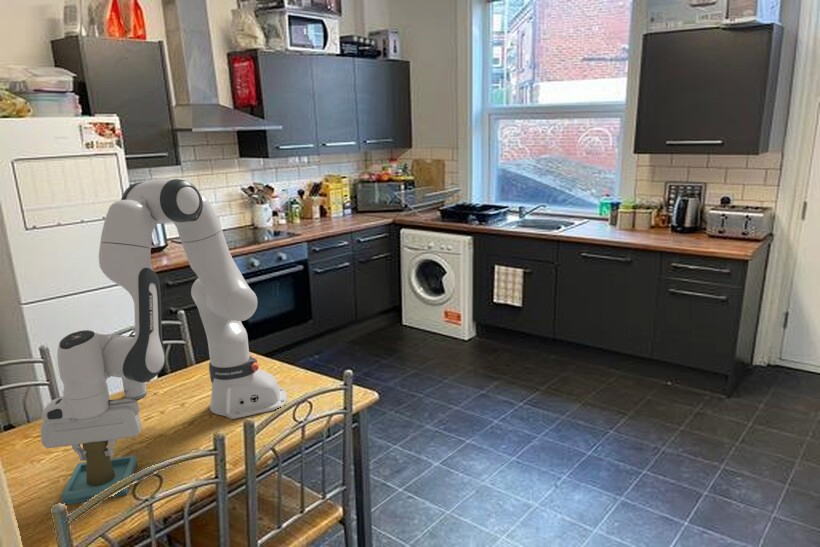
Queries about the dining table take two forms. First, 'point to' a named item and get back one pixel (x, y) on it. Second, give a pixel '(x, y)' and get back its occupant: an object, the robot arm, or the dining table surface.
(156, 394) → the dining table surface
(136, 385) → the travel mug
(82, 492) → the tray
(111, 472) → the brown tapered cylinder
